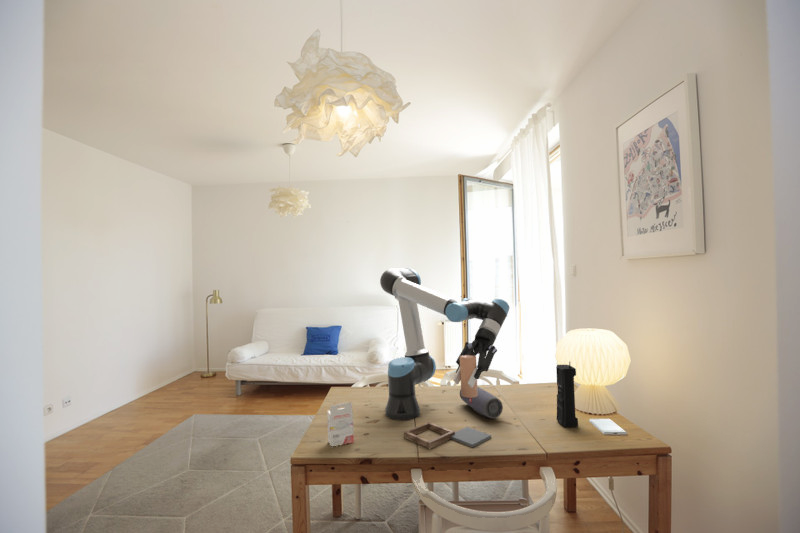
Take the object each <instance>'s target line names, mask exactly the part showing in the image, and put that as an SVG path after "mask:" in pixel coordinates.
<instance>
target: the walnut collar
mask: <svg viewBox="0 0 800 533" xmlns="http://www.w3.org/2000/svg"><path fill="white" fill-rule="evenodd" d="M427 430H431V431H433V432H436V433H439V434H441V435H440V436H437V437H435V438H433V439H431V440H429V439H426V438H424V437H421V436H419V435H418V434H420V433H423V432H425V431H427ZM455 432H456V431H454V430H451V429H449V428H446V427H443V426H441V425H438V424H436V423H433V422H430V421H428V422H427V421H426V422H425V423H423V424H420V425H417V426H415V427H413V428H410V429H407V430H405V431H404V432H403V438H405V437H406V438H405V439H407V438H408V439H407V440H409V439H410V440H409V441H411V440H412V441H411V442H413V441H414V443H416V444H418V445H420V444H421V445H420V446H422V445H423V447H424V446H425V447H424V448H427V449H429V448H431V449H433V448H434V446H435V447H437V446H439V445H441V444H443V442H444V443H445V442H447V441H450V440H452V439H451V436H452V435H455ZM436 445H437V446H436ZM432 447H433V448H432Z"/></svg>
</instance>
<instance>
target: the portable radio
mask: <svg viewBox="0 0 800 533" xmlns="http://www.w3.org/2000/svg"><path fill="white" fill-rule="evenodd" d="M568 363H569V364H557V365H556V385H557V394H556V421H557V422H558V423H559V424H560V425H561V426H562V427H563V428H577V427H579V419H578V418H577V417H576V399H575V398H576V397H575V376H577V369H576V368H575V367H574V366H571V362H568Z"/></svg>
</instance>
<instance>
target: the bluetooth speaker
mask: <svg viewBox="0 0 800 533" xmlns="http://www.w3.org/2000/svg"><path fill="white" fill-rule="evenodd" d="M477 390H478V396H477V397H473V398H467V397H463V396H461V389H460V390H459V397H460V398H461V400H462V401H463V402H464V403H465V404H466V405H468V406H469V407H471V409H472V410H473V411H474V412H476V413H477V414H479V415H481V417H487V418H489V419H497V418H499V417H500V416H501V414H502V413H503V409H504V408H503V403H502V401H501V400H500V399H499V398H498V397H497V396H495V395H493V394H492V393H490V392H488V391H486V390H485V389H483V388H481V387H478V386H477Z"/></svg>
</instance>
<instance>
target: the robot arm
mask: <svg viewBox="0 0 800 533" xmlns="http://www.w3.org/2000/svg"><path fill="white" fill-rule="evenodd" d="M379 281H380V282H379V284H380V287H381V288H382V290H383V291H384V292H385V293H386V294H389V295H391V296H393V297H394V299H395V300H397V301H398V306H399V310H400V316H401V324H402V330H403V336H404V341H405V347H406V352H405V354H404V356H401V357H397V358H394V359H392V360H390V361H389V363H388V367H387V369H388V370H387V375H388V376H387V377H388V379H387V380H388V382H387V383H388V400H387V402H386V406H385V410H384V411H385V412H384V413H385V417H387V418H388V417H389V418H388V419H391V418H392V420H396V419H397V420H396V421H406V420H412V419H414V418H417V417H419V416H420V415H421V410H420V405H419V403H418V399H417V397H416V386H417V385H420V384H421V383H423V382H426V381H429V380H431V378H433V376H434V375H435V374H436V370H437V365H436V361H435V359H434V358H433V357H432V356H431V355H430V352H429V350H428V349H426V347H425V341H424V336H423V330H422V324H421V319H420V313H419V308H418V307H419V306H418V305H421V306H422V307H424V308H427V309H429V310H432V311H434V312H436V313H437V314H442V315H443V316H445V317H446V318H447V319H448V320H449V321H450V322H452V323H462V322H463V321H468V320H473V319H475V320H476V319H477V320H482V322H481V323H480V325H479V326H478V329H477V331H476V333H475V336H474V340H473V341H472V342H468V341H466V342H465V344H464V347H463V349H462V350H461V352H460V354H459V356H458V358H457V359H456V361H455V363H456V364H457V365H458V366H457V369H456V371H455V373H456V374H454V377H453V379H452V380H453V381H454V382H455V384H456V385H459V384H460V383H461V378H460V356H463V355H472V356H476V357H477V355H478V354H479V355H478V360H477V364H476V367H477V368H475V369H474V371H473V373H472V375H471V377H470V379H469V381H468V385H469V386H470V387H471V388H473V386H474V384H475V382H476V380H477V381H478V380H479V378H480V376H481V375H482V373H483V372H488V371H489V369H490V366H491V364H492V361H493V359H494V356H495V355H496V353H497V352H498V348H497V347H495V345H494V343H495V341H496V340H497V337H498V335H499V333H500V331H501V328H502V326H503V325H504V322H505V320H506V318H507V317H508V314H509V311H510V305H509V303H508V302H507V301H505V300H504V299H501V298H494V299H493V300H492V302H486V301H481V300H477V299H473V298H463V299H462V300H461V301H460V300H457V299H455V298H453V297H450V296H448V295H445V294H442V293H440V292H437V291H435V290H432V289H429V288H427V287H425V286H422V285H421V283H422V280H421V277H420V274H419V273H418V272H417V271H416V270H415V269H412V268H409V267H408V268H406V267H405V268H389V269H386V270H384V272H383V273H381V277H380V279H379Z"/></svg>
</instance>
